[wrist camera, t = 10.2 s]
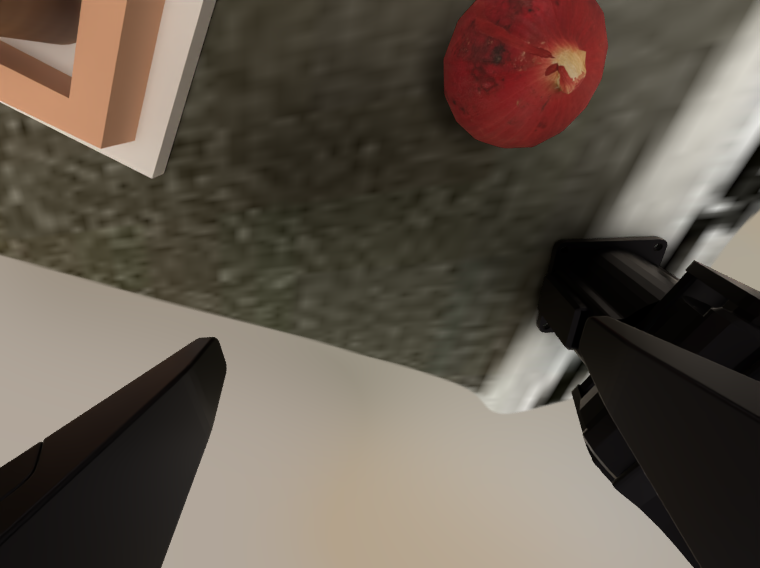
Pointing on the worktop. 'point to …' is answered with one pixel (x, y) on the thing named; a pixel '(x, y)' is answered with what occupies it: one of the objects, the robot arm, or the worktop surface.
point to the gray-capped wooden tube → (40, 20)
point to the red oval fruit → (524, 68)
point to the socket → (90, 74)
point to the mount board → (164, 87)
